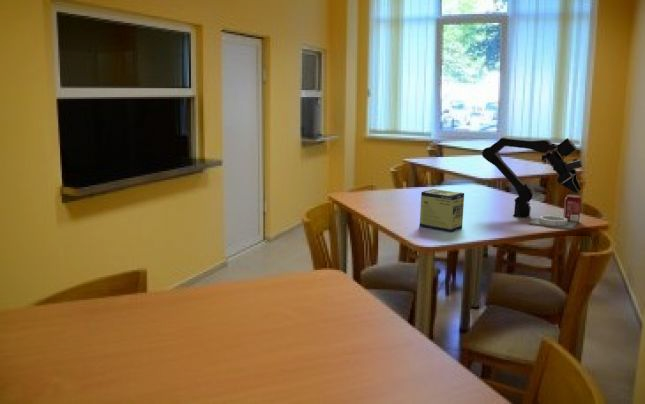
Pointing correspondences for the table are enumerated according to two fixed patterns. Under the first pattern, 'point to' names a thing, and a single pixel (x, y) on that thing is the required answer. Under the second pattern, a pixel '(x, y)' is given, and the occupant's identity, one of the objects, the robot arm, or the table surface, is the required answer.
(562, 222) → the holder
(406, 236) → the table surface
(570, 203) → the soda can
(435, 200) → the protein box
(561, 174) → the robot arm
